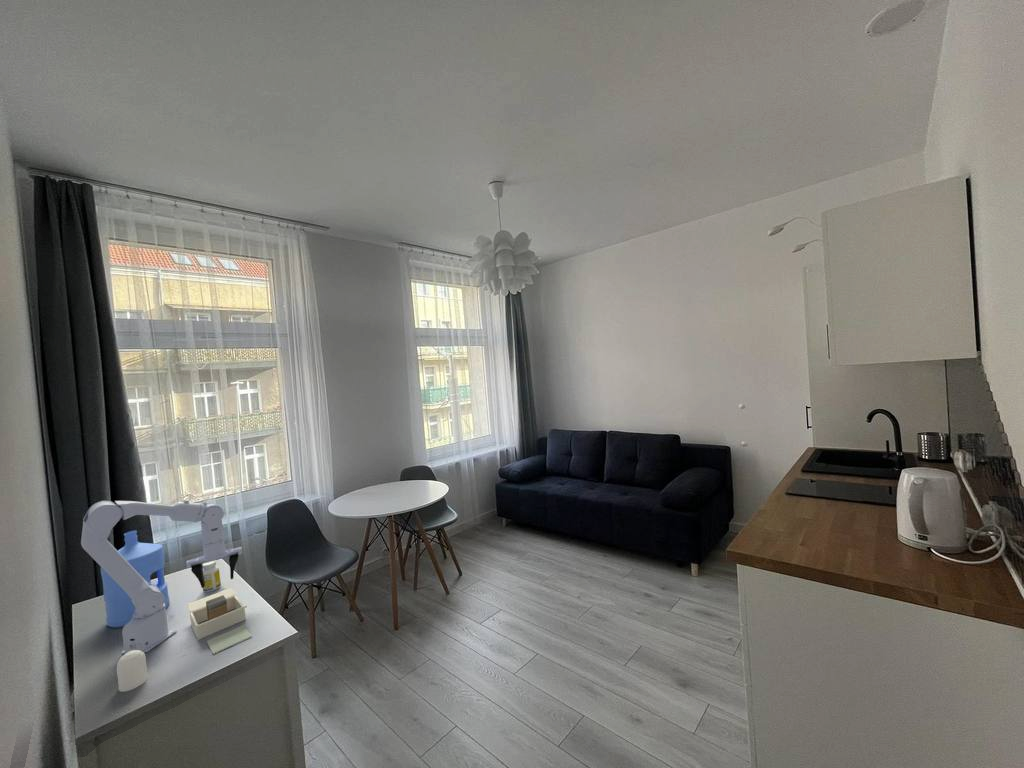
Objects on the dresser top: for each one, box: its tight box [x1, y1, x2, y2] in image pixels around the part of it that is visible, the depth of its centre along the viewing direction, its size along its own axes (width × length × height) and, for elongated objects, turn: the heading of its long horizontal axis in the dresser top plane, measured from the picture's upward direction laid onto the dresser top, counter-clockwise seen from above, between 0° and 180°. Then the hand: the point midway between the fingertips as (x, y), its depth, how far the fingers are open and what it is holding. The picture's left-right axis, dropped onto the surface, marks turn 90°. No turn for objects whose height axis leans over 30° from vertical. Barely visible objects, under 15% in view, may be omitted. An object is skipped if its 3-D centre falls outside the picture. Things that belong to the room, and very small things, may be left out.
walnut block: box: [206, 595, 229, 621], centre depth 126 cm, size 4×4×7 cm
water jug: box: [100, 530, 171, 628], centre depth 136 cm, size 16×16×28 cm
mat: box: [206, 624, 252, 655], centre depth 116 cm, size 9×9×1 cm
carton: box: [187, 587, 248, 641], centre depth 126 cm, size 20×12×6 cm, turn 46°
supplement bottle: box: [202, 560, 222, 593], centre depth 150 cm, size 5×5×10 cm
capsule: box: [116, 650, 149, 693], centre depth 101 cm, size 5×5×8 cm
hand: (217, 582), depth 132 cm, fingers open, 7 cm apart
